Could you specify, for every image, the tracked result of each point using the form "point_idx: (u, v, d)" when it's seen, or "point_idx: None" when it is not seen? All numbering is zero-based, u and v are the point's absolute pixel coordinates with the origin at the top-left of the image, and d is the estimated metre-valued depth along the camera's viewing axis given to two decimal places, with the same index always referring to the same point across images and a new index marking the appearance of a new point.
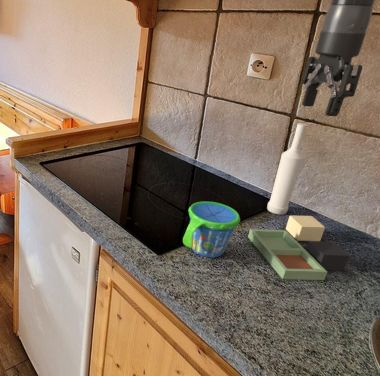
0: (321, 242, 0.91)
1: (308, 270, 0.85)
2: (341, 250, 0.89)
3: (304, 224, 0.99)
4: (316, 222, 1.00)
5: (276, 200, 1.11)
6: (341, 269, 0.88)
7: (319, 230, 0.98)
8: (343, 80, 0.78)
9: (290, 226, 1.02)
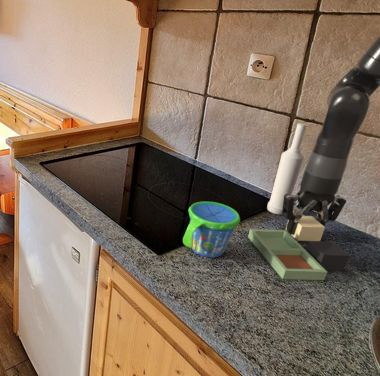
0: (321, 242, 0.91)
1: (308, 270, 0.85)
2: (341, 250, 0.89)
3: (304, 224, 0.99)
4: (316, 222, 1.00)
5: (276, 200, 1.11)
6: (341, 269, 0.88)
7: (319, 230, 0.98)
8: None
9: None
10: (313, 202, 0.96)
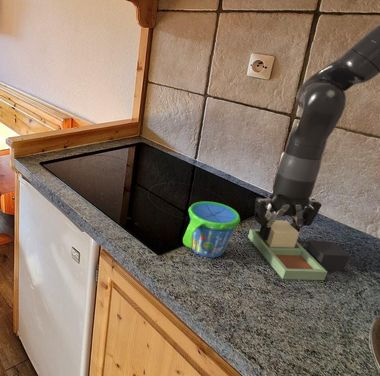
0: (321, 242, 0.91)
1: (308, 270, 0.85)
2: (341, 250, 0.89)
3: (277, 229, 0.93)
4: (290, 227, 0.94)
5: None
6: (341, 269, 0.88)
7: (293, 236, 0.92)
8: None
9: None
10: (286, 206, 0.90)
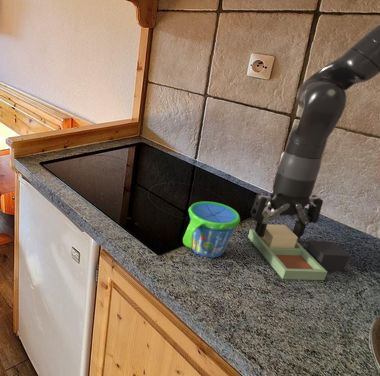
0: (321, 242, 0.91)
1: (308, 270, 0.85)
2: (341, 250, 0.89)
3: (276, 234, 0.93)
4: (289, 231, 0.94)
5: None
6: (341, 269, 0.88)
7: (291, 240, 0.92)
8: None
9: None
10: (286, 205, 0.90)
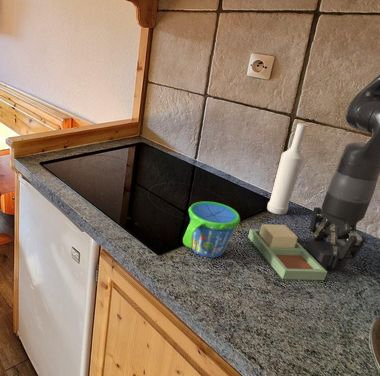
0: (321, 242, 0.91)
1: (308, 270, 0.85)
2: None
3: (276, 234, 0.93)
4: (289, 231, 0.94)
5: (276, 200, 1.11)
6: (341, 269, 0.88)
7: (291, 240, 0.92)
8: (346, 247, 0.82)
9: (262, 235, 0.97)
10: None
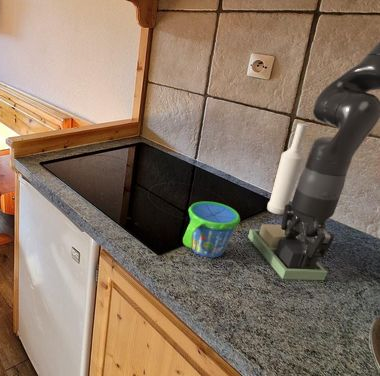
0: (292, 240, 0.89)
1: (308, 270, 0.85)
2: None
3: (276, 234, 0.93)
4: None
5: (276, 200, 1.11)
6: (311, 268, 0.86)
7: None
8: (314, 245, 0.80)
9: (262, 235, 0.97)
10: None
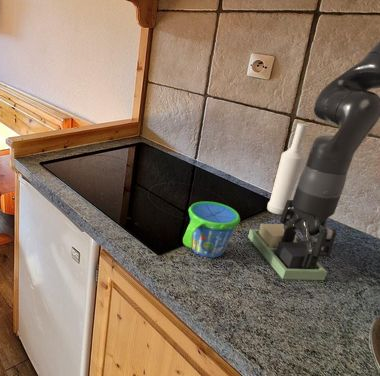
0: (292, 243, 0.89)
1: (308, 270, 0.85)
2: None
3: (275, 233, 0.93)
4: None
5: (276, 200, 1.11)
6: None
7: None
8: (318, 242, 0.79)
9: (261, 235, 0.97)
10: None
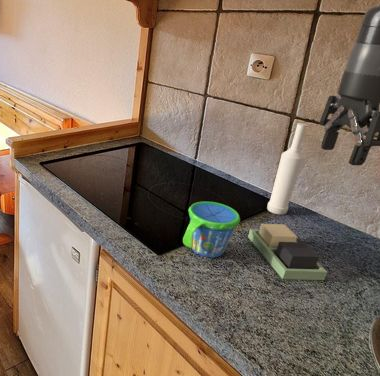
0: (292, 243, 0.89)
1: (308, 270, 0.85)
2: (310, 251, 0.86)
3: (275, 233, 0.93)
4: (288, 231, 0.94)
5: (276, 200, 1.11)
6: None
7: (291, 240, 0.93)
8: (371, 128, 0.69)
9: (261, 235, 0.97)
10: None
